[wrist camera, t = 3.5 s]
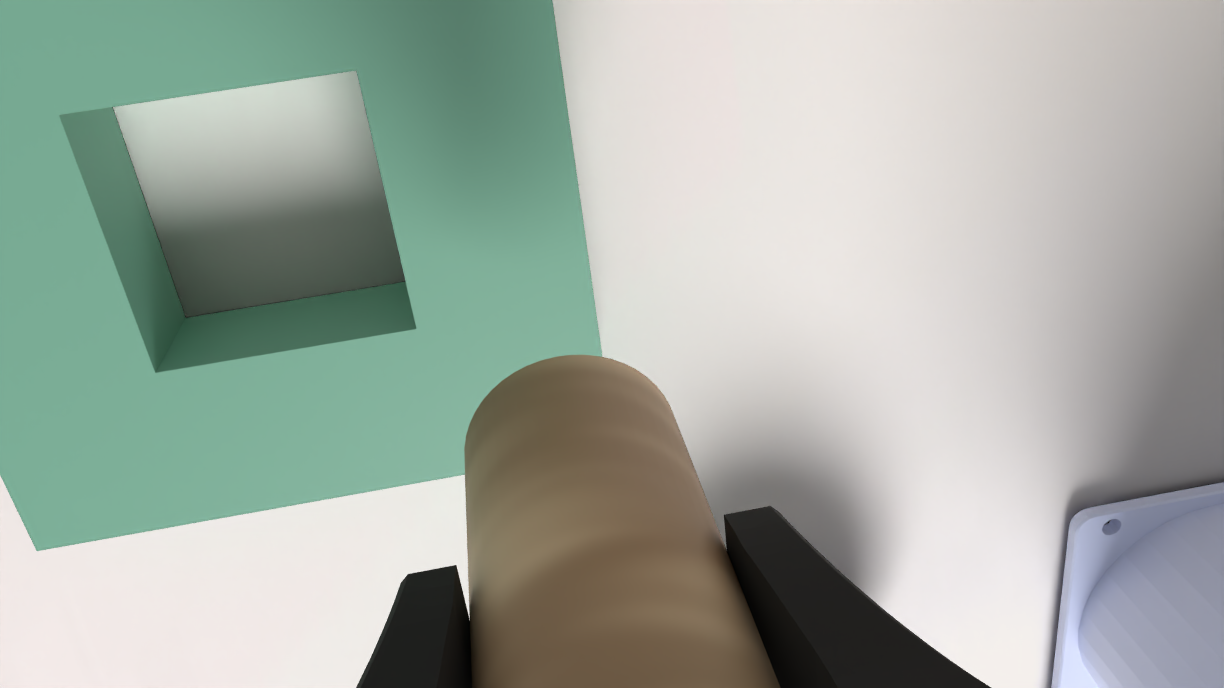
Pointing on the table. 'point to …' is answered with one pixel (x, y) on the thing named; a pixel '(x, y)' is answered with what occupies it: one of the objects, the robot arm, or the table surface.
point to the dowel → (596, 541)
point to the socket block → (286, 331)
